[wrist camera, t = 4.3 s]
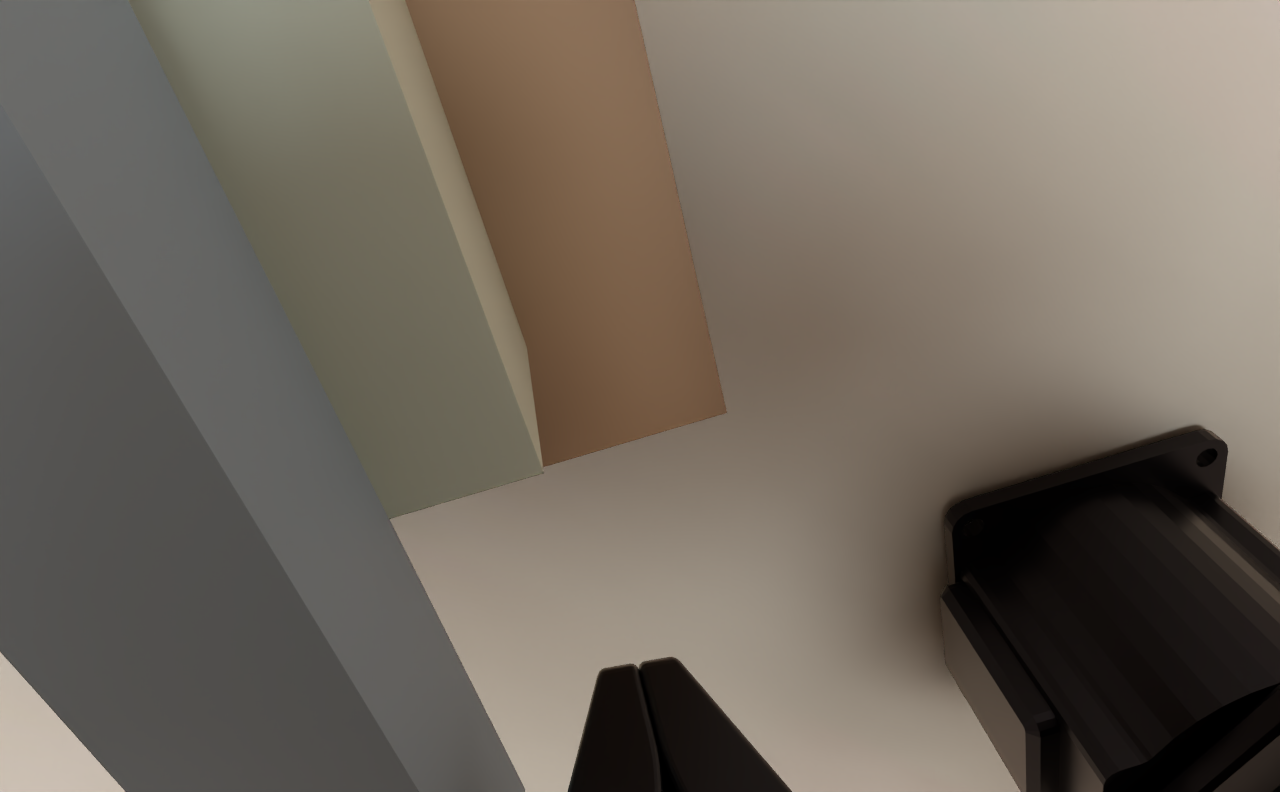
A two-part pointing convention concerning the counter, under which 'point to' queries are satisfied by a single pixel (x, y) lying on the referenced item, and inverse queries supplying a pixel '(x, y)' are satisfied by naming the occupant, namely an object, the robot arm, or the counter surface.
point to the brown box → (577, 212)
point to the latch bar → (188, 466)
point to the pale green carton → (362, 230)
